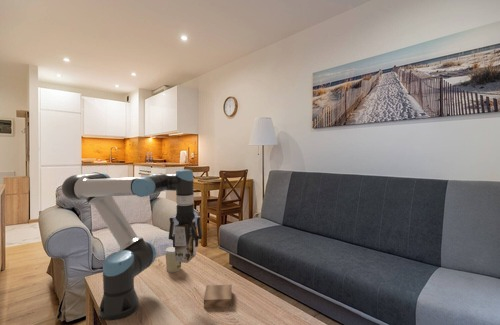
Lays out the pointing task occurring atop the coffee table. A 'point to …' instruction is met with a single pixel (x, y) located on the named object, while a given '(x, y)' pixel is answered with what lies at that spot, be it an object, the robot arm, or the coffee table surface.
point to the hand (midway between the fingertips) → (185, 253)
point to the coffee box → (184, 242)
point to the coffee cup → (171, 260)
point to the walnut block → (217, 296)
